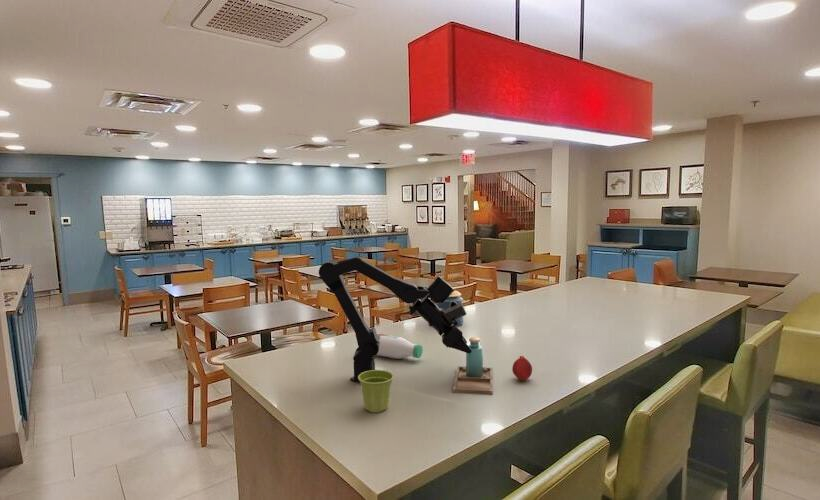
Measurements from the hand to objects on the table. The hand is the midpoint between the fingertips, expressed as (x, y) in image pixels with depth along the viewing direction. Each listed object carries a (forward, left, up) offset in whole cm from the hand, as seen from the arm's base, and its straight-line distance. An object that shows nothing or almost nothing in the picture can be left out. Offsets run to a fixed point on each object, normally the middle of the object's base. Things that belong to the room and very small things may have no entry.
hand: (468, 347), depth 137 cm
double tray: (-3, -3, -9) cm, 10 cm away
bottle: (+1, -2, -9) cm, 9 cm away
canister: (+55, +38, -9) cm, 67 cm away
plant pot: (-33, +11, -9) cm, 36 cm away
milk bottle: (+2, +41, -5) cm, 41 cm away
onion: (+5, -15, -9) cm, 19 cm away
